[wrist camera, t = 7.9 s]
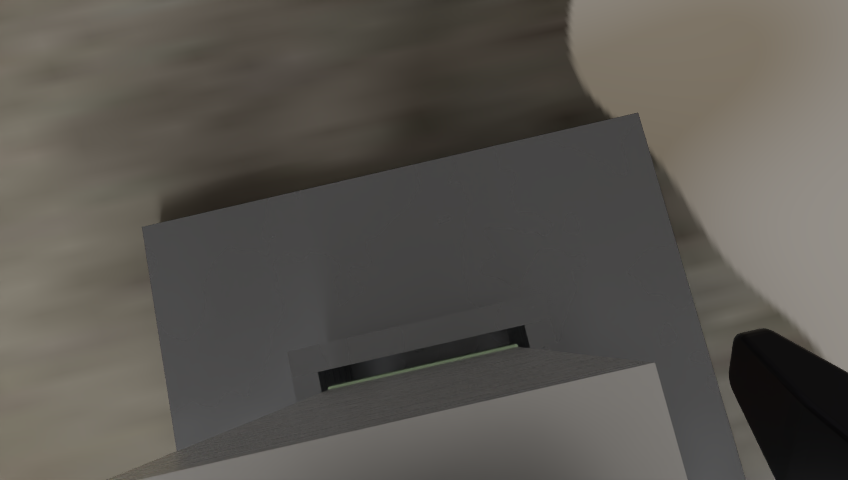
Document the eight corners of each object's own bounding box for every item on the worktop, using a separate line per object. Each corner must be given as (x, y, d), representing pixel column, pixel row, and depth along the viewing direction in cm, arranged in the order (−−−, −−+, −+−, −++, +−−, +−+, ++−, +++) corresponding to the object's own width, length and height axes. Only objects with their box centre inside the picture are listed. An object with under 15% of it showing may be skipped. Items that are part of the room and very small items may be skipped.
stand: (775, 637, 19) (925, 775, 13) (242, 756, 19) (146, 947, 13) (627, 125, 21) (695, 42, 15) (159, 233, 21) (46, 192, 15)
